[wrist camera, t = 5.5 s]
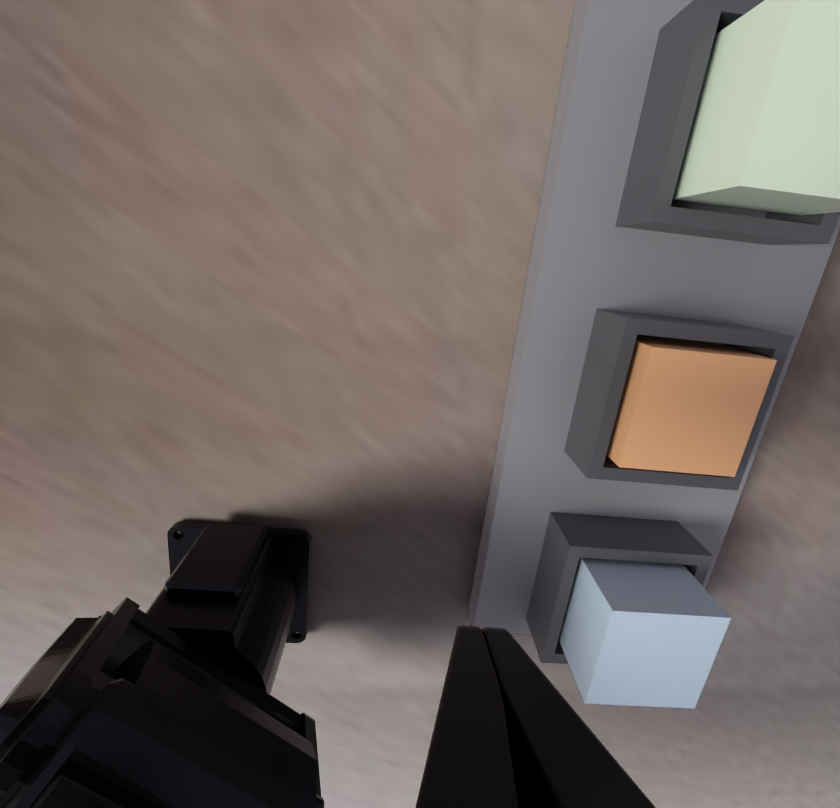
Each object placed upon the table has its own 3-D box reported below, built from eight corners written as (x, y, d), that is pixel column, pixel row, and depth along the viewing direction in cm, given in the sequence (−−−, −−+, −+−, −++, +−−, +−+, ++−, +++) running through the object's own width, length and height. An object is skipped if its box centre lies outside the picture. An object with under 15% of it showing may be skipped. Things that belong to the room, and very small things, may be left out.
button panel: (668, 620, 24) (718, 688, 21) (468, 609, 24) (481, 676, 20) (869, 50, 16) (1009, -11, 13) (575, 4, 16) (630, -77, 12)
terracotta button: (685, 444, 19) (734, 477, 17) (586, 435, 19) (619, 467, 16) (718, 343, 18) (776, 360, 15) (611, 331, 18) (651, 346, 15)
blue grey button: (653, 644, 20) (694, 708, 18) (558, 639, 20) (584, 703, 17) (681, 563, 19) (731, 618, 16) (580, 556, 19) (612, 610, 16)
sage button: (801, 215, 15) (897, 206, 12) (673, 199, 14) (739, 185, 12) (856, 56, 13) (979, 2, 11) (716, 34, 13) (803, -28, 10)
